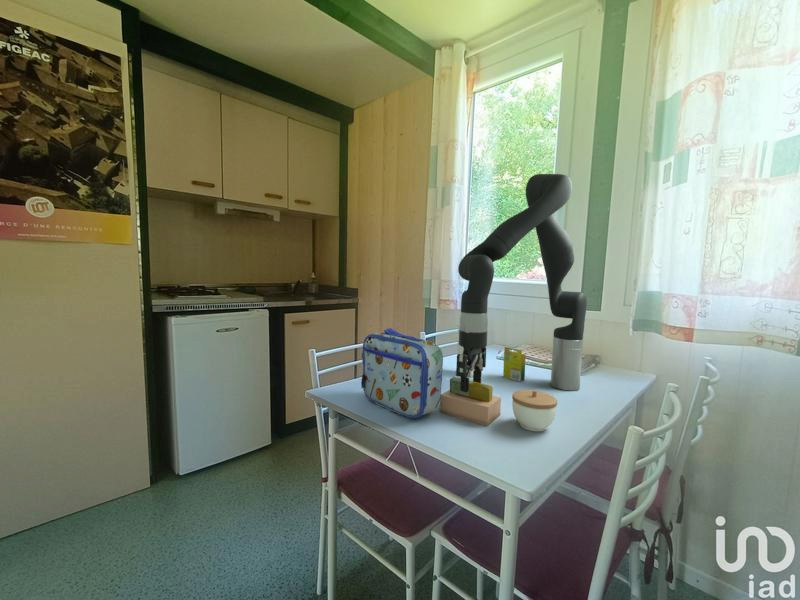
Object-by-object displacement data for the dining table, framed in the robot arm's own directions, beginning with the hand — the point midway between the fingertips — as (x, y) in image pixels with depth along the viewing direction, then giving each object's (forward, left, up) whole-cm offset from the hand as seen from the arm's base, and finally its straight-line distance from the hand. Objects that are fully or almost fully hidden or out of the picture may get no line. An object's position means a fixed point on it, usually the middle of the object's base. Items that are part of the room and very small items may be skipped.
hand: (470, 387), depth 97 cm
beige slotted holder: (0, 0, -7) cm, 7 cm away
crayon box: (-40, -1, -8) cm, 41 cm away
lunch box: (+9, -19, -8) cm, 22 cm away
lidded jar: (-3, +16, -8) cm, 18 cm away
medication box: (0, 0, -3) cm, 3 cm away
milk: (-34, -17, -8) cm, 39 cm away
